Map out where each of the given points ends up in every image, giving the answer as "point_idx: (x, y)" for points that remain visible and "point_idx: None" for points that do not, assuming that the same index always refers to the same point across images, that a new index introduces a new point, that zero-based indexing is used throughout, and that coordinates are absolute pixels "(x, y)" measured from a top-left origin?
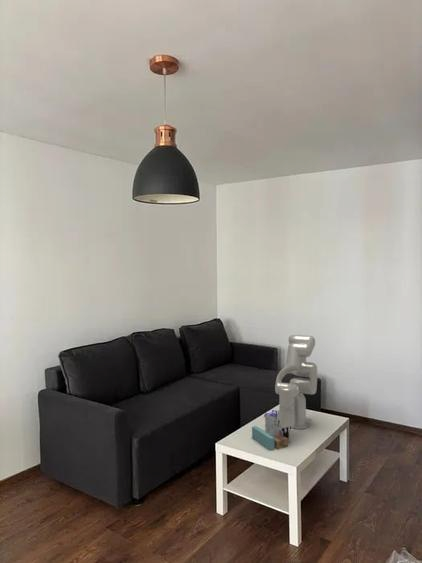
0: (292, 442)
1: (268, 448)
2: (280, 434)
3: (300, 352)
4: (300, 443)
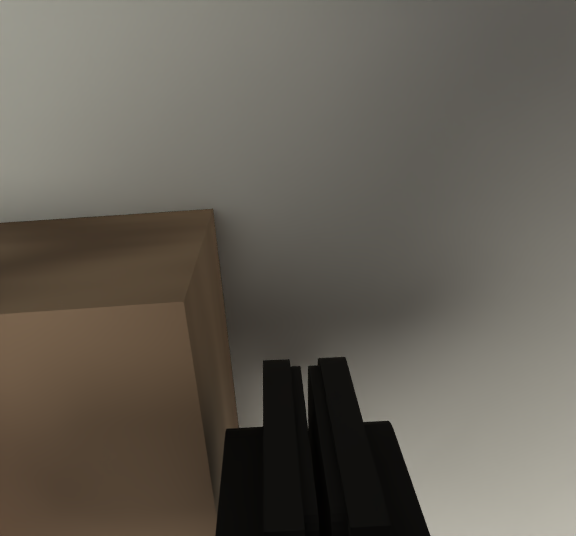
0: (446, 355)
1: None
2: (179, 345)
3: None
4: (544, 445)
